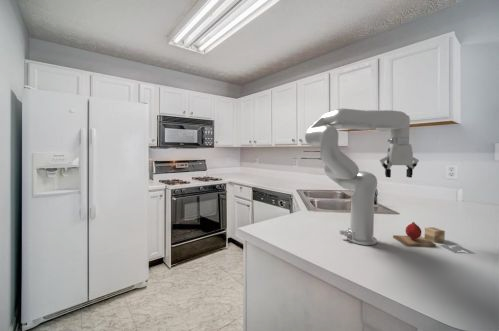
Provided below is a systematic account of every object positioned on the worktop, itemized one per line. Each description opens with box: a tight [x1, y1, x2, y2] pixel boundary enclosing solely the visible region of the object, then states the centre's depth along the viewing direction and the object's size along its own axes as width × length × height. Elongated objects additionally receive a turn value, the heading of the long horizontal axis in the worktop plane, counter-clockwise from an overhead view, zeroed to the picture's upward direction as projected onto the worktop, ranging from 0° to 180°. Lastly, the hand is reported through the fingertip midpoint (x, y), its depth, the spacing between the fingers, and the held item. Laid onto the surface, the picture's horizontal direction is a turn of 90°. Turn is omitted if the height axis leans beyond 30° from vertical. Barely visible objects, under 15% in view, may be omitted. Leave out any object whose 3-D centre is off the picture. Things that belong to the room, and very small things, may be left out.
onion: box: [405, 221, 422, 240], centre depth 102 cm, size 6×6×8 cm
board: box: [392, 234, 437, 248], centre depth 102 cm, size 12×10×1 cm
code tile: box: [439, 244, 477, 255], centre depth 94 cm, size 8×8×1 cm
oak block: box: [424, 226, 446, 242], centre depth 104 cm, size 5×5×5 cm
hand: (398, 177), depth 110 cm, fingers open, 9 cm apart
